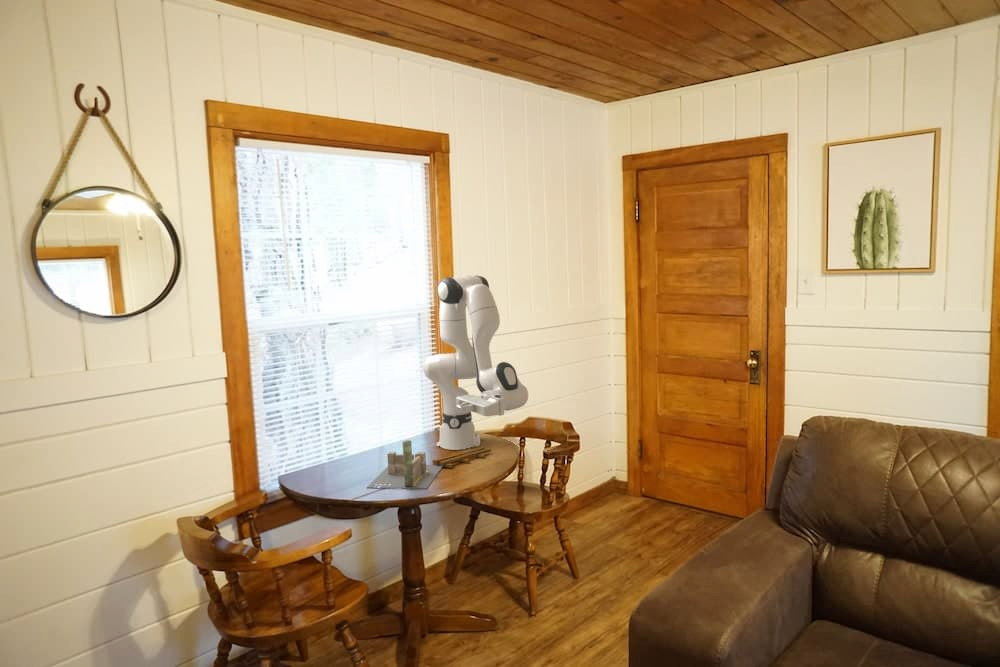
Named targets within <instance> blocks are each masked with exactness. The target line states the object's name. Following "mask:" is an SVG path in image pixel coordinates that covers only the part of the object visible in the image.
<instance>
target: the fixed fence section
mask: <svg viewBox="0 0 1000 667" xmlns="http://www.w3.org/2000/svg"><path fill="white" fill-rule="evenodd" d="M386 454H387V467H388V474H395V473H404V462H403V453H402V454H397V452H396V451H389V452H388V453H386ZM414 459H415V454H414V453H412V461H413V460H414Z"/></svg>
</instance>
